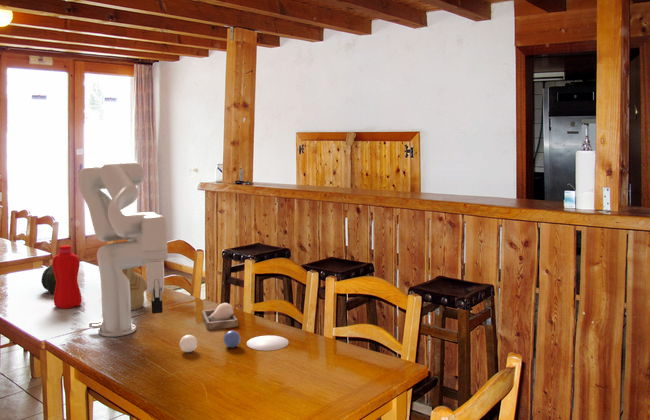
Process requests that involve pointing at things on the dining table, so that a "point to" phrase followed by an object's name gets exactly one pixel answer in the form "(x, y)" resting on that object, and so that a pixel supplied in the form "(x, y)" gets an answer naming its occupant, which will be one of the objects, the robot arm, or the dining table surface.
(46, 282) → the squash
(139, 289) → the ceramic vessel
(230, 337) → the object ball
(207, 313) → the brown wooden tray
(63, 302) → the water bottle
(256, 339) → the white round disc
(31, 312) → the dining table surface
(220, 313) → the light bulb
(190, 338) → the cue ball
